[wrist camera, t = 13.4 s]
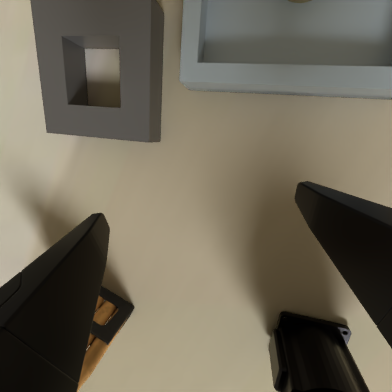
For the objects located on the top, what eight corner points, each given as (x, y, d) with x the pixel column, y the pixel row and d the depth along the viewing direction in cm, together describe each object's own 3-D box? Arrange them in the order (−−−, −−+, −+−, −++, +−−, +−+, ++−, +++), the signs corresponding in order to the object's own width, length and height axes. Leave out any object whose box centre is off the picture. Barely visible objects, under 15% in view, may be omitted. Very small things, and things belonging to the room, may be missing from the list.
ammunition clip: (135, 306, 26) (51, 437, 15) (130, 315, 26) (46, 448, 15) (64, 262, 26) (-70, 356, 15) (60, 272, 27) (-70, 369, 16)
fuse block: (164, 13, 17) (151, -8, 14) (160, 141, 19) (149, 142, 17) (57, 15, 18) (30, -3, 16) (68, 133, 21) (46, 132, 19)
